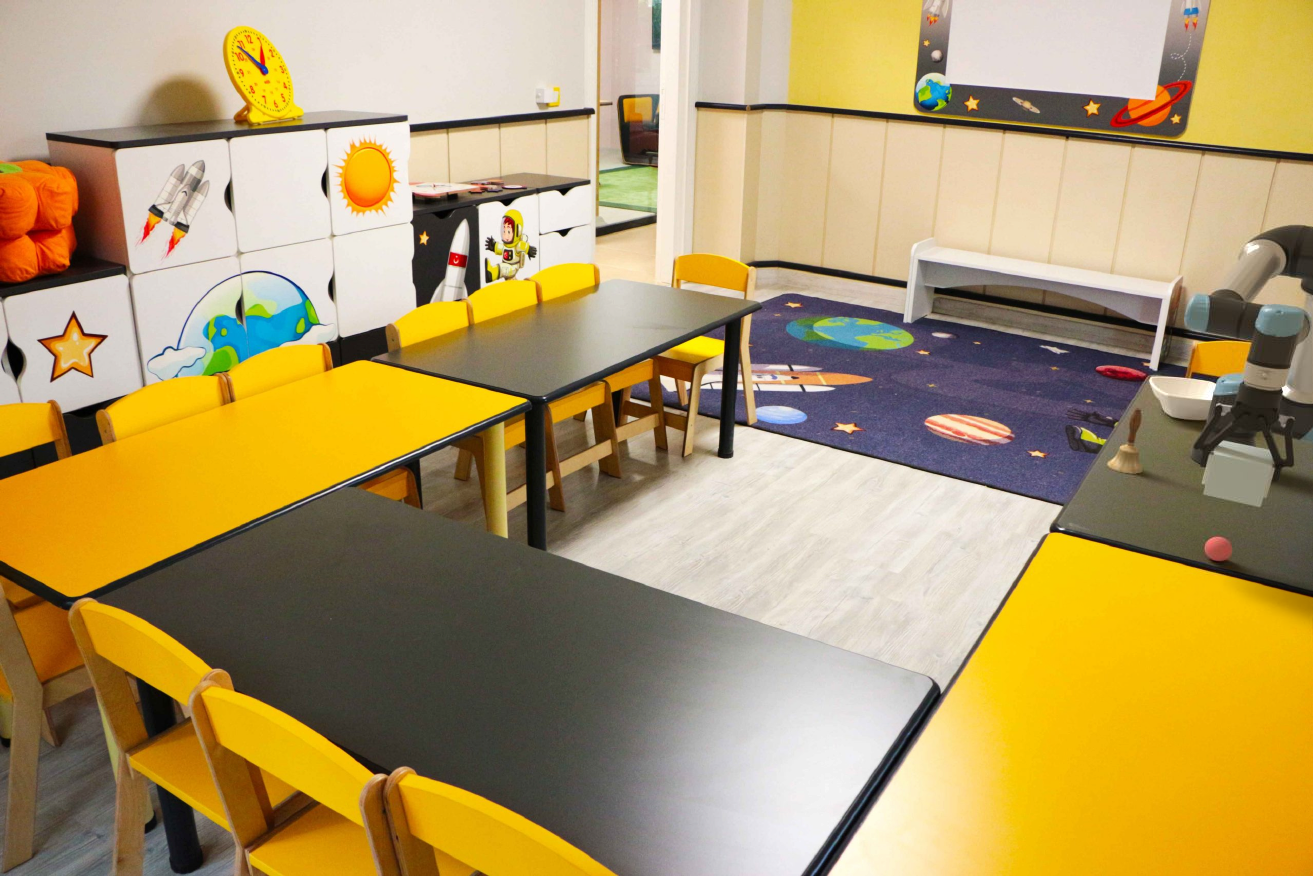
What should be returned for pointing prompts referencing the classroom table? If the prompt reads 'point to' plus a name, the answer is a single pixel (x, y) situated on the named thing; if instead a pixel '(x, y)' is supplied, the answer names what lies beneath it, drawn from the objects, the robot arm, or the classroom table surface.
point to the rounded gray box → (1239, 473)
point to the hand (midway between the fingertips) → (1233, 488)
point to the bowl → (1183, 396)
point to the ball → (1218, 548)
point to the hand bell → (1128, 449)
